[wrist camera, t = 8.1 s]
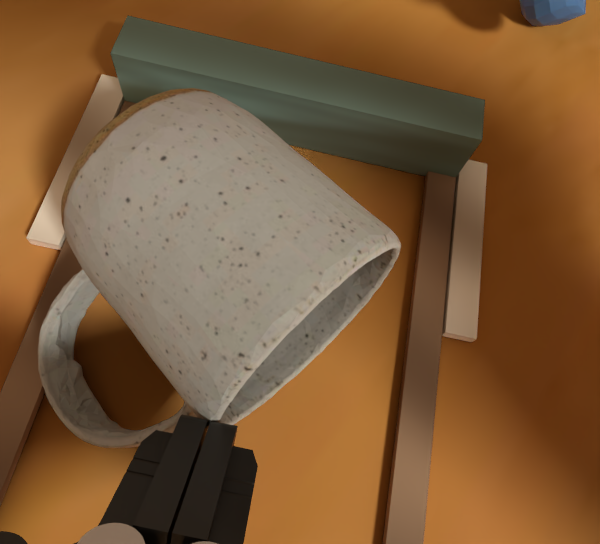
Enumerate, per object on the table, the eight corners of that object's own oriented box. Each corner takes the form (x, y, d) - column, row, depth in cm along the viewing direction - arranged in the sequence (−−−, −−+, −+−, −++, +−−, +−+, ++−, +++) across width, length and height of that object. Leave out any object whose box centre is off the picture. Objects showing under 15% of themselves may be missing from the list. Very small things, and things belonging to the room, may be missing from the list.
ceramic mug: (230, 165, 21) (221, 11, 14) (373, 302, 20) (444, 204, 13) (3, 335, 18) (-156, 244, 11) (153, 517, 16) (82, 549, 9)
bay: (439, 827, 14) (488, 910, 11) (-178, 704, 14) (-283, 760, 11) (483, 152, 23) (516, 107, 20) (112, 65, 23) (94, 7, 20)
